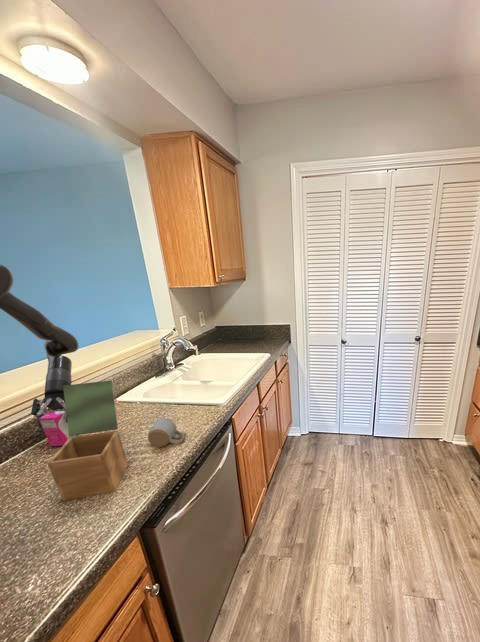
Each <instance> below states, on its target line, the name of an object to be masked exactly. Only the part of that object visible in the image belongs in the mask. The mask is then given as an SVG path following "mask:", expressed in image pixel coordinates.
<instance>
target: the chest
mask: <svg viewBox="0 0 480 642" xmlns="http://www.w3.org/2000/svg"><path fill="white" fill-rule="evenodd" d="M128 466H129V463H128V459H127V456H126V452H125V448H124V446H123V443H122V439H121V436H120V431H119V430H112V431H105V432H98V433H91V434H84V435H76V437H70V438H69V439H68V441H67V442H66V443H65V444H64V445H63V446H62V447H60V448H59V449H58V451H57V452H56V453H55V454H54V456H52V457H51V459H50V460H49V461H48V462H47V467H48V468H49V471H50V473H51V476H52V478H53V481H54V483H55V485H56V487H57V490H58V493H59V495H60V497H61V500H62V501H69V500H75V499H81V498H87V497H93V496H98V495H105V494H109V493H116V491H117V489H118V488H119V485H120V483H121V480H122V478H123V476H124V474H125V472H126V470H127V467H128Z"/></svg>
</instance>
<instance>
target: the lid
mask: <svg viewBox="0 0 480 642" xmlns="http://www.w3.org/2000/svg"><path fill="white" fill-rule="evenodd" d="M63 389H64V398H65V406H66V409H65V411H66V415H67V423H68V432H69V436H74V435H75V436H82V435H89V434H96V433H103V432H111V431H118V430H119V426H118V425H119V424H118V417H117V410H116V400H115V392H114V384H113V380H110V379H109V380H102V381H92V382H84V383H76V384H75V383H74V384H71V385H65V386H63Z"/></svg>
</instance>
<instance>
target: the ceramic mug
mask: <svg viewBox="0 0 480 642" xmlns="http://www.w3.org/2000/svg"><path fill="white" fill-rule="evenodd" d="M175 435H176V436H179V437H180V439H173V438H174V436H175ZM184 439H185V435H184V433H182V432H181V431H179V430H177V425H176V423H175V422H174V421H173V420H171V419H169V418H167V417H162V418H158V419H156V420H155V421H154V423H153V425H152V426H151V429H150V430H149V431H148V435H147V440H148V442H149V444H151V445H152V446H154V447H157V448H162V447H165V446H167V445H169V443H171V444H175V445H177V444H181V443H183V441H184Z"/></svg>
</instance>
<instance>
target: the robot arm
mask: <svg viewBox="0 0 480 642" xmlns="http://www.w3.org/2000/svg"><path fill="white" fill-rule="evenodd" d="M13 285H14V276H13V274H12V272H11V270H10V269H9V268H8V267H6V266H5V265H3V264H1V263H0V310H2V311H3V312H5V313H6V314H7V315H9V316H10V317H11V318H12V319H14V320H16V321H17V322H18V323H19V324H20V325H22V326H23V327H24V328H25V329H27V331H29V332H30V333H32V335H34V336H35V337H36V338H38V339H39V340H42V341H44V351H45V355H46V358H47V362H48V363H47V372H46V375H45V382H44V398H43V399H38V398H34V399H33V400H32V406H31V412H30V415H32V416H33V417H35V418H36V425H37V426H38V427H39V428H40V429H41V428H42V429H43V427H42V425H41V423H40V421H39V418H41V417H42V416H44V415H46V414H48V413H49V412H52V411H58V410H59V411H62V410H66V406H65V398H64V389H63V386H65V385H72V381H73V380H72V369H73V367H72V360H71V358H70V357H68V356H64V355H66V354H67V355H68V354H71V353H75V352H77V351H78V349H79V346H80V345H79V342H78V340H77V338H76V337H75V336H74V335H73V334H72V333H70V332H69V331H66V330H65V329H63V328H62V327H59V326H58V325H56V324H55V323H53V322H52V321H51V320H50V319H49V318H48V317H46V315H44V314H43V312H41V311H40V310H38V309H36V308H35V307H33V306H32V305H30V304H28V303H27V302H25V301H23V300H22V299H20V298H19V297H17V296H15V295H14V294H13V293H11V292H10V291H11V289H12V287H13ZM66 423H67V415H66Z"/></svg>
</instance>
